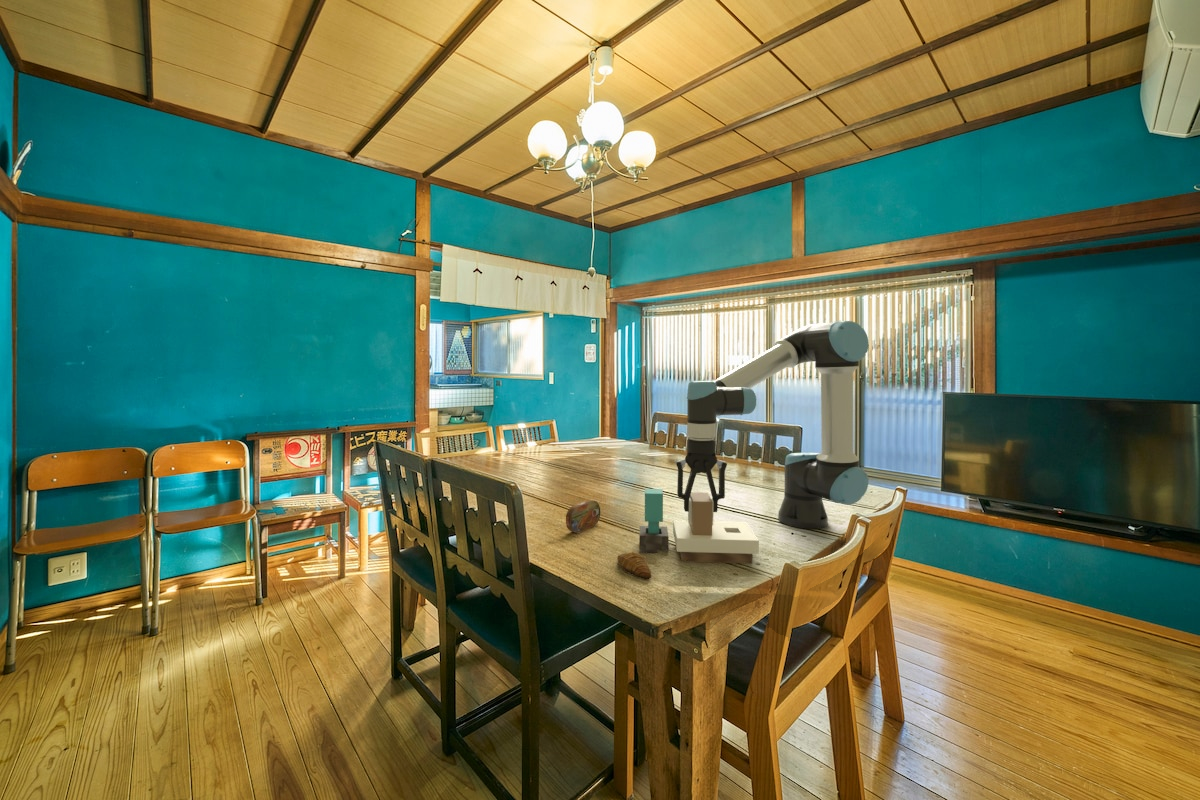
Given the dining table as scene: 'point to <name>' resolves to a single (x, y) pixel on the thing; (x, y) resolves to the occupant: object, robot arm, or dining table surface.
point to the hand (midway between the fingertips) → (700, 523)
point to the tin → (583, 516)
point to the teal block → (653, 509)
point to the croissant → (634, 565)
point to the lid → (712, 531)
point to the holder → (653, 540)
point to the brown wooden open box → (716, 557)
